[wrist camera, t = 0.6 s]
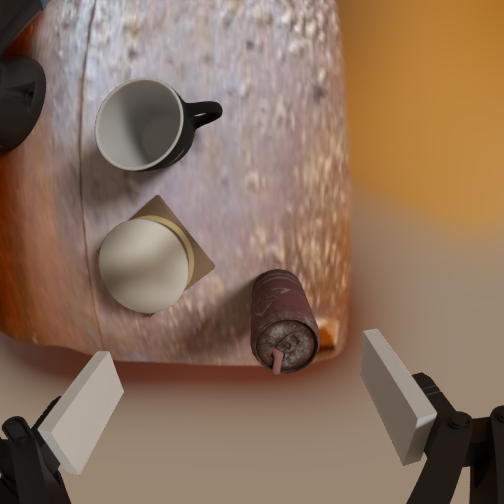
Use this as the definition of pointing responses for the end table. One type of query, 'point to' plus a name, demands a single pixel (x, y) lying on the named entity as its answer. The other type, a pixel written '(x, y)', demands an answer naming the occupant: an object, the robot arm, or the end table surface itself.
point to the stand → (151, 260)
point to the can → (282, 323)
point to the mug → (148, 125)
